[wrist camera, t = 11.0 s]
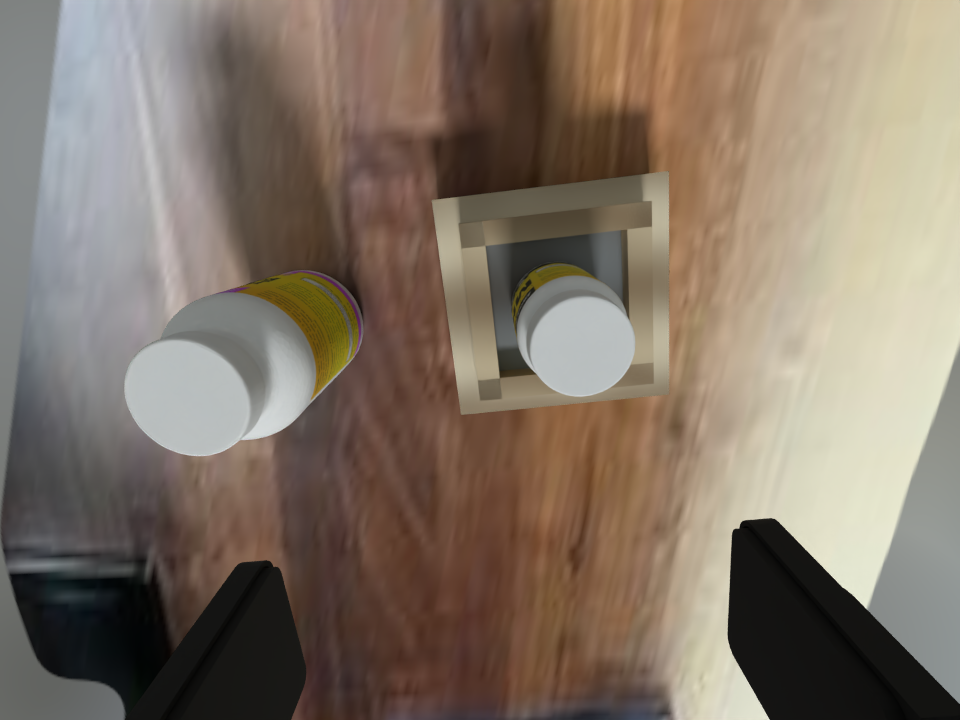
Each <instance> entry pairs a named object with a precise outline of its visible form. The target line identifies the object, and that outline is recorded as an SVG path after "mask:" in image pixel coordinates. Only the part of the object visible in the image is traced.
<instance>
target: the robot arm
mask: <svg viewBox="0 0 960 720" xmlns="http://www.w3.org/2000/svg"><path fill="white" fill-rule="evenodd" d="M728 641H729V645H730V649H731V651H732V654H733V656H734V658H735V659H736V661H737V663H738V665H739V666H740V668H741V670H742V672H743V673H744V675H745V677H746V679H747V680H748V682H749V684H750V686H751V687H752V689H753V691H754V693H755V694H756V696H757V698H758V700H759V702H760V703H761V705H762V707H763V709H764V710H765V712H766V714H767V716H768V717H769V719H770V720H960V704H959V703H958V702H957V701H956V700H955V699H954V698H953V697H952V696H951V695H950V694H949V693H948V692H947V691H946V690H945V689H944V688H943V687H942V686H941V685H940V684H939V683H938V682H937V681H936V680H935V679H934V678H933V677H932V676H931V675H930V674H929V673H928V671H927V670H925V668H924V667H923V666H922V665H920V663H918V661H917V660H915V658H914V657H913V656H912V655H911V654H910V653H909V652H908V651H907V650H906V649H905V648H904V647H903V646H902V645H901V644H900V643H899V642H898V641H897V640H896V639H895V638H894V637H893V636H892V635H891V634H890V633H889V632H888V631H887V630H886V629H885V628H884V627H883V626H882V625H881V624H880V623H879V622H878V621H877V620H876V619H875V617H873V615H871V613H870V612H869V611H868V610H867V609H866V608H865V607H864V606H863V605H862V604H861V603H860V602H859V601H858V600H857V599H856V598H855V597H854V596H853V595H852V594H850V593H849V592H848V591H847V590H846V589H844V588H842V587H841V586H840V585H839V584H838V583H837V582H836V580H835V579H834V578H833V577H832V576H831V575H830V574H829V573H828V572H827V571H826V570H825V569H824V568H823V567H822V566H821V565H820V564H819V563H818V562H817V561H816V560H815V559H814V558H813V557H812V556H811V555H810V554H809V553H808V552H807V551H806V550H805V549H804V548H803V547H802V546H801V545H800V544H799V543H798V541H797V540H796V539H795V538H794V537H793V536H792V535H791V534H790V533H789V532H788V531H787V530H786V529H785V528H784V527H783V526H782V525H781V524H780V523H779V522H778V521H777V520H775V519H772V518H769V519H757V520H745V521H742V522H741V524H740V529H734V530H733V533H732V547H731V569H730V592H729V614H728ZM305 680H306V665H305V661H304V657H303V653H302V650H301V646H300V642H299V638H298V634H297V631H296V627H295V623H294V619H293V615H292V612H291V608H290V604H289V600H288V596H287V592H286V589H285V585H284V581H283V577H282V573H281V571H280V569H279V568H278V567H273V565H272V563H271V562H270V561H267V560H266V561H254V562H242V563H240V564H238V565H237V566H236V567H235V568H234V570H233V571H232V573H231V574H230V575H229V577H228V578H227V580H226V581H225V582H224V584H223V585H222V586H221V588H220V589H219V591H218V592H217V593H216V595H215V596H214V597H213V599H212V600H211V602H210V603H209V604H208V606H207V607H206V609H205V610H204V611H203V613H202V614H201V615H200V617H199V618H198V620H197V621H196V622H195V624H194V625H193V626H192V628H191V629H190V631H189V632H188V633H187V635H186V636H185V637H184V639H183V640H182V642H181V643H180V644H179V646H178V647H177V649H176V650H175V651H174V653H173V654H172V655H171V657H170V658H169V660H168V661H167V662H166V664H165V665H164V666H163V668H162V669H161V671H160V672H159V673H158V675H157V676H156V678H155V679H154V680H153V682H152V683H151V684H150V686H149V687H148V689H147V690H146V691H145V693H144V694H143V695H142V697H141V698H140V700H139V701H138V702H137V704H136V705H135V707H134V708H133V709H132V711H131V712H130V713H129V715H128V716H127V718H126V719H125V720H291V718H292V716H293V713H294V711H295V708H296V706H297V703H298V701H299V698H300V695H301V693H302V690H303V688H304V684H305Z"/></svg>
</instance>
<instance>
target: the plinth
mask: <svg viewBox="0 0 960 720" xmlns="http://www.w3.org/2000/svg"><path fill="white" fill-rule="evenodd" d="M432 205H433V212H434V220H435V227H436V234H437V242H438V249H439V256H440V264H441V271H442V278H443V286H444V293H445V300H446V308H447V315H448V322H449V330H450V337H451V344H452V352H453V359H454V366H455V373H456V381H457V388H458V395H459V403H460V410H461V415H464V414H474V413H484V412H494V411H504V410H515V409H525V408H535V407H545V406H555V405H566V404H576V403H586V402H596V401H606V400H617V399H627V398H637V397H647V396H658V395H668V394H669V171H666V172H658V173H650V174H642V175H634V176H625V177H617V178H609V179H601V180H593V181H584V182H576V183H568V184H560V185H552V186H544V187H535V188H527V189H519V190H511V191H503V192H494V193H486V194H478V195H470V196H462V197H454V198H445V199H437V200H432ZM549 262H566V263H570V264H573V265H576V266H578V267H579V268H581V269H583V270H584V271H586V272H587V273H589V274H591V275H592V276H594V277H595V278H597V279H598V280H600V281H601V282H603V283H604V284H606V285H607V286H609V287H610V288H611V289H612V290H613V291H614V292H615V293H616V294H617V295H618V297H619V298H620V300H621V301H622V303H623V305H624V308H625V310H626V314H627V317H628V318H629V320H630V322H631V324H632V327H633V330H634V334H635V352H634V357H633V359H632V362H631V364H630V367H629V368H628V370H627V372H626V373H625V374H624V376H623V377H622V378H621V379H620V380H619V381H618V382H617V383H616V384H615V385H613V386H612V387H610V388H609V389H607V390H605V391H603V392H600V393H597V394H594V395H590V396H582V397H577V396H569V395H564V394H562V393H559V392H557V391H555V390H553V389H551V388H550V387H548V386H547V385H546V384H545V383H544V382H543V381H542V380H541V379H540V378H539V377H538V375H537V374H536V373H535V372H534V371H533V370H532V369H531V368H530V367H529V366H528V365H527V363H526V362H525V360H524V359H523V357H522V355H521V352H520V350H519V347H518V343H517V338H516V333H515V328H514V323H513V318H512V308H511V306H512V297H513V294H514V291H515V289H516V287H517V285H518V283H519V282H520V280H521V279H522V278H523V277H524V276H525V275H526V274H527V273H528V272H529V271H530V270H532V269H533V268H535V267H537V266H539V265H542V264H545V263H549Z"/></svg>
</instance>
